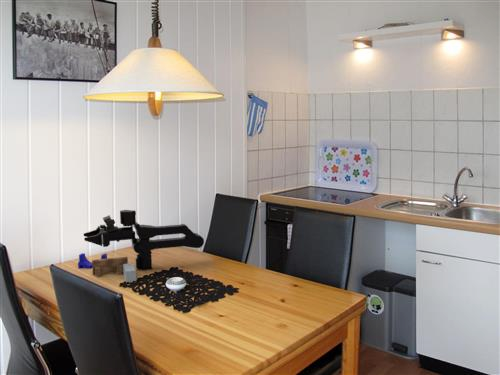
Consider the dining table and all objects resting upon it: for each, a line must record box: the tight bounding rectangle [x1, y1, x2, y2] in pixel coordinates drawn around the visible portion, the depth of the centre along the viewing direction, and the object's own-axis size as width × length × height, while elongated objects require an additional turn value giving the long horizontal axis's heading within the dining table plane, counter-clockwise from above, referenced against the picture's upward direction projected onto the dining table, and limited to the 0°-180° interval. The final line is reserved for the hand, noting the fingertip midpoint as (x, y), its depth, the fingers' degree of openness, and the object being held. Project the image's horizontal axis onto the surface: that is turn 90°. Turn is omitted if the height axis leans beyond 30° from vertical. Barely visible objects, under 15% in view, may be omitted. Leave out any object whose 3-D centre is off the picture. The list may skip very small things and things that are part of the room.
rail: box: [122, 262, 137, 284], centre depth 218 cm, size 4×12×5 cm, turn 19°
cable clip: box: [77, 252, 108, 270], centre depth 235 cm, size 12×4×6 cm, turn 85°
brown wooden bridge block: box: [91, 256, 129, 278], centre depth 225 cm, size 15×6×6 cm, turn 109°
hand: (84, 237), depth 223 cm, fingers open, 9 cm apart
